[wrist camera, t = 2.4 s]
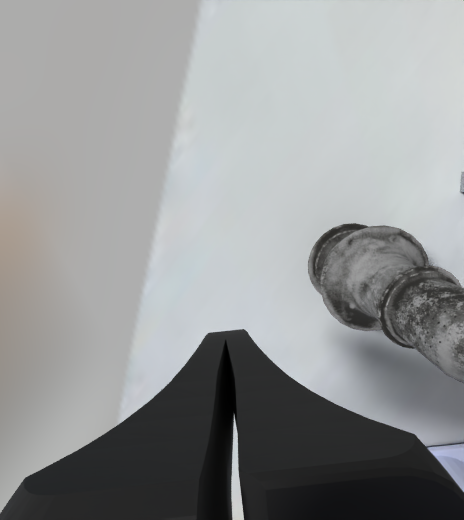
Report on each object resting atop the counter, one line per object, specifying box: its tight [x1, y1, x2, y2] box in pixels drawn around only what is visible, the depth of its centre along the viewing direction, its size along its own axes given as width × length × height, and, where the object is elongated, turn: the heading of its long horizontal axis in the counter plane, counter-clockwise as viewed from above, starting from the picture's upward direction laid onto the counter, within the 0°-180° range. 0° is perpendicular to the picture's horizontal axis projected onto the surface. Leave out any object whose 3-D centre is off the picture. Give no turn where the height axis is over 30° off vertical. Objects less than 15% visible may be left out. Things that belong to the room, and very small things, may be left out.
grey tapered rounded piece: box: [308, 223, 464, 383], centre depth 14 cm, size 6×6×12 cm
